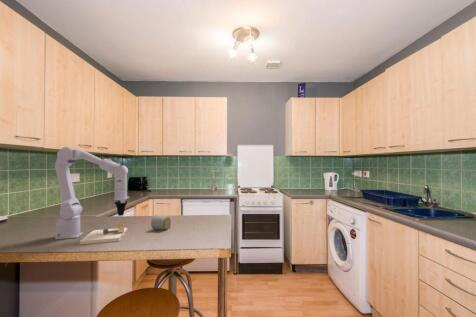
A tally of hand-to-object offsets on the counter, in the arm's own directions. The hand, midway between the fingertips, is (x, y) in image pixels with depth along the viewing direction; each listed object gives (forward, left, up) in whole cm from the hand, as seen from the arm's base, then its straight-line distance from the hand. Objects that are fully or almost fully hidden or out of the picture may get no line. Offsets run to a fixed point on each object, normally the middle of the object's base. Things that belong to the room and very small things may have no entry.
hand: (120, 215), depth 121 cm
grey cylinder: (+20, +3, -10) cm, 23 cm away
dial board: (-6, -4, -9) cm, 12 cm away
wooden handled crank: (-2, -4, -7) cm, 9 cm away
